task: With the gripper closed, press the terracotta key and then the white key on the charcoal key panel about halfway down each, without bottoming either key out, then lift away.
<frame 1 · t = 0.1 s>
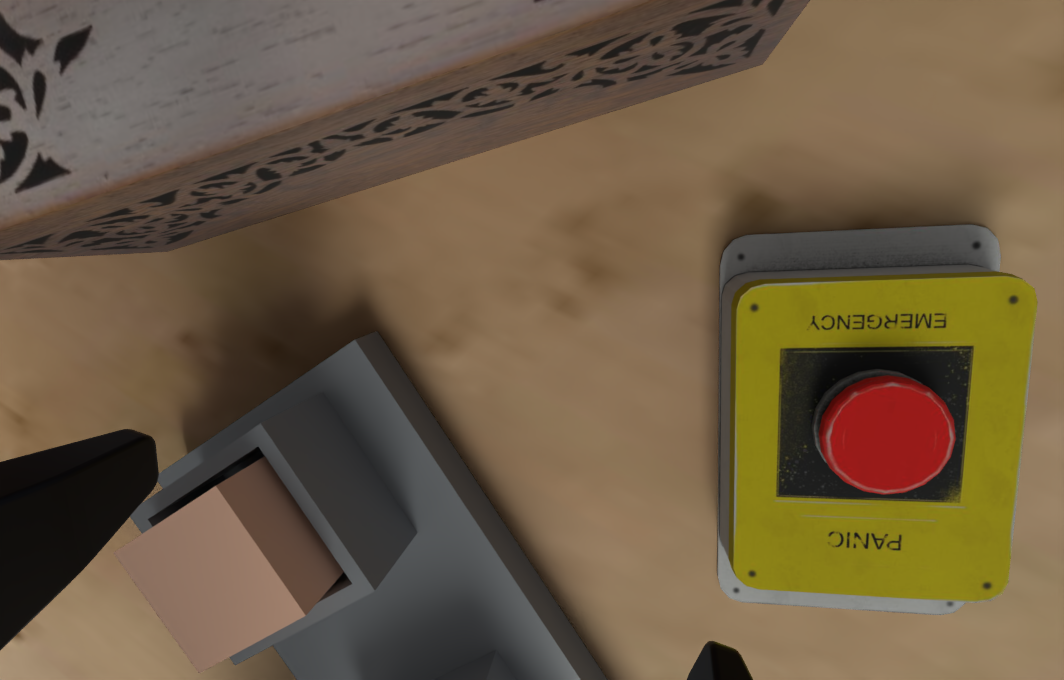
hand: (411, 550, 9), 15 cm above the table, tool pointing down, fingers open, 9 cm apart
emergency button: (839, 423, 23), on the table
key panel: (410, 596, 27), on the table
key terracotta: (237, 558, 20), point 6 cm above the table, slide at 0.0 cm
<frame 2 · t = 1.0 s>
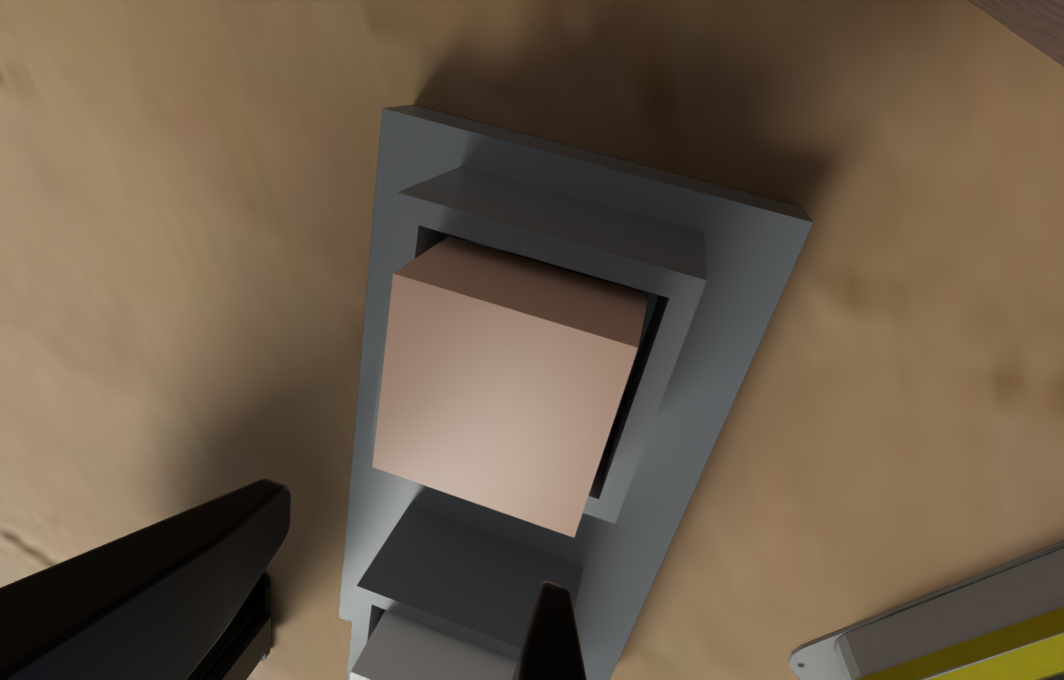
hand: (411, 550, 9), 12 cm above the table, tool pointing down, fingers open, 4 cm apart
emergency button: (1031, 647, 21), on the table
key panel: (524, 443, 22), on the table
key terracotta: (509, 381, 14), point 6 cm above the table, slide at 0.0 cm
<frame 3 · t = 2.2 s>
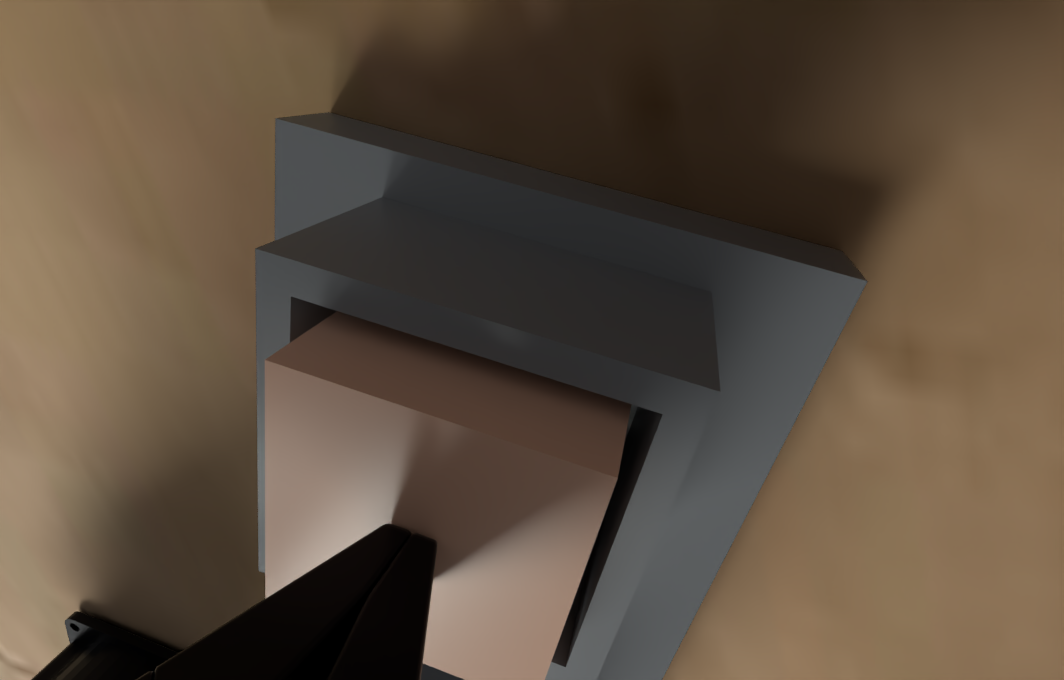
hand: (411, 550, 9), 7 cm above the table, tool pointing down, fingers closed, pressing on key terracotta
key panel: (486, 529, 18), on the table
key terracotta: (449, 487, 10), point 6 cm above the table, slide at 0.8 cm, touching gripper
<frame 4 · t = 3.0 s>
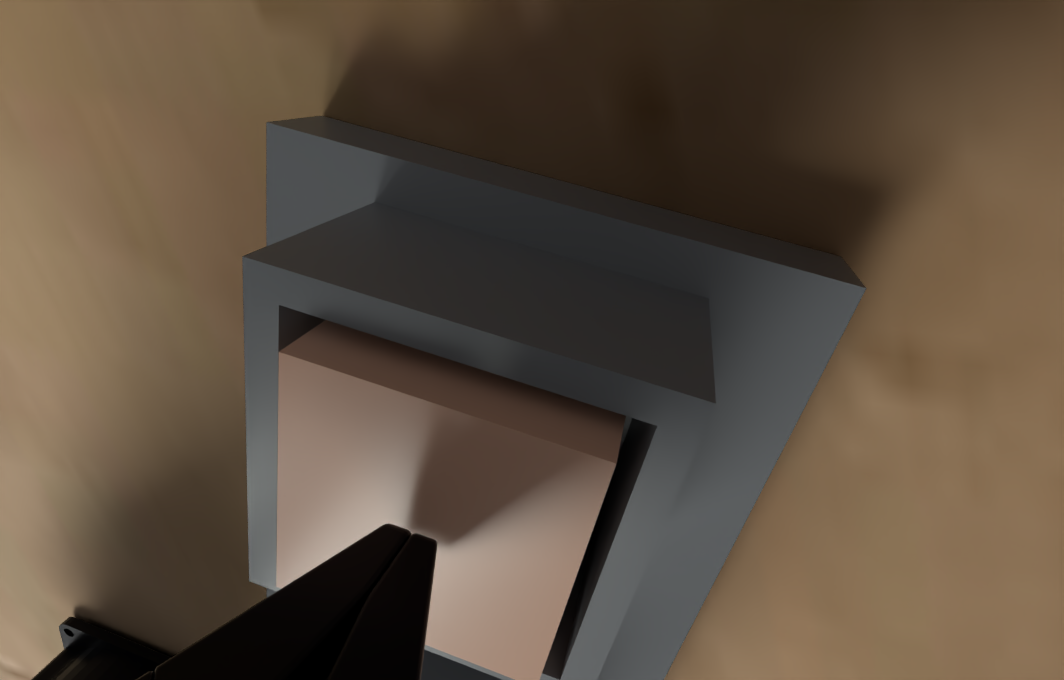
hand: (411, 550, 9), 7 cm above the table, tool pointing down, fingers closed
key panel: (482, 536, 18), on the table
key terracotta: (453, 476, 10), point 5 cm above the table, slide at 1.4 cm
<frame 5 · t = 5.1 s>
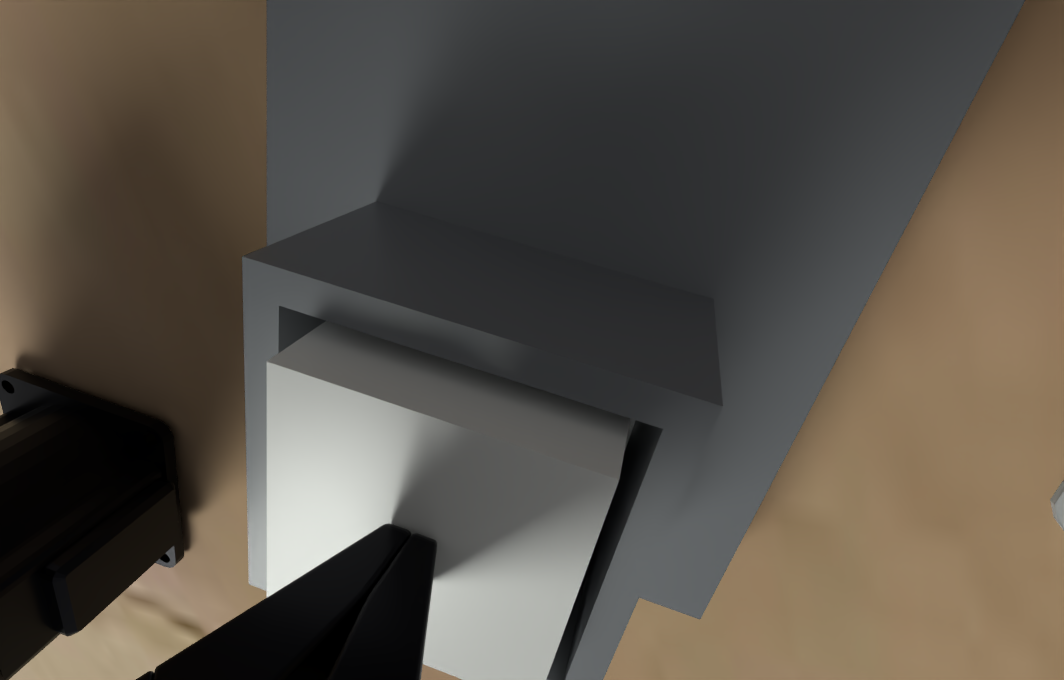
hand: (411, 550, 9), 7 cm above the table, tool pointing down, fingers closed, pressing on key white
key white: (450, 488, 10), point 5 cm above the table, slide at 1.2 cm, touching gripper
key panel: (592, 84, 12), on the table
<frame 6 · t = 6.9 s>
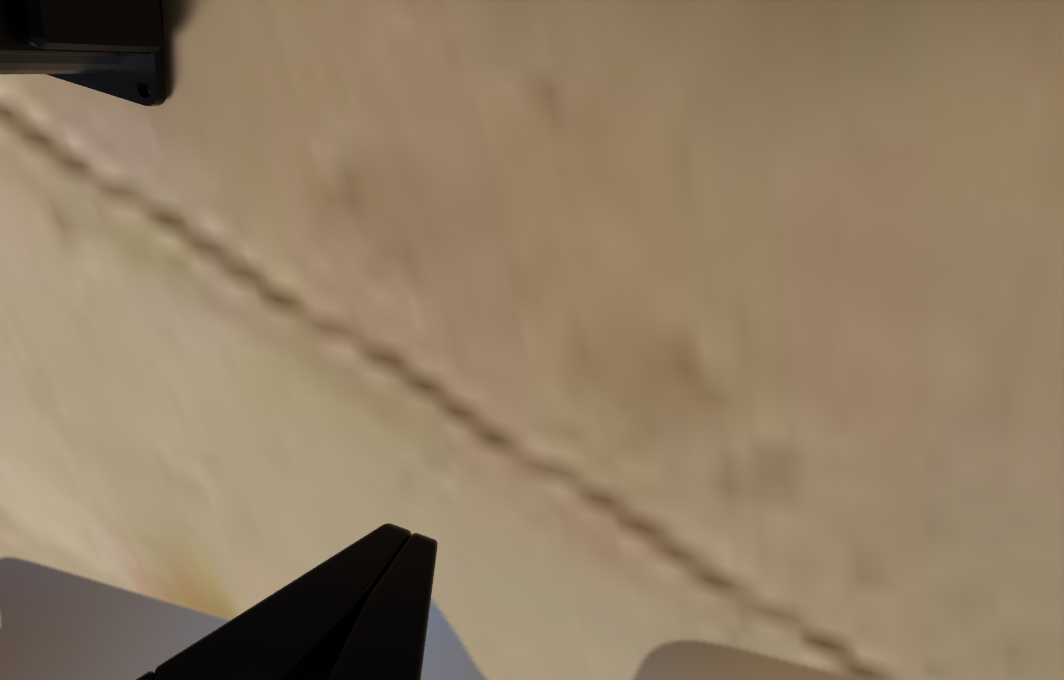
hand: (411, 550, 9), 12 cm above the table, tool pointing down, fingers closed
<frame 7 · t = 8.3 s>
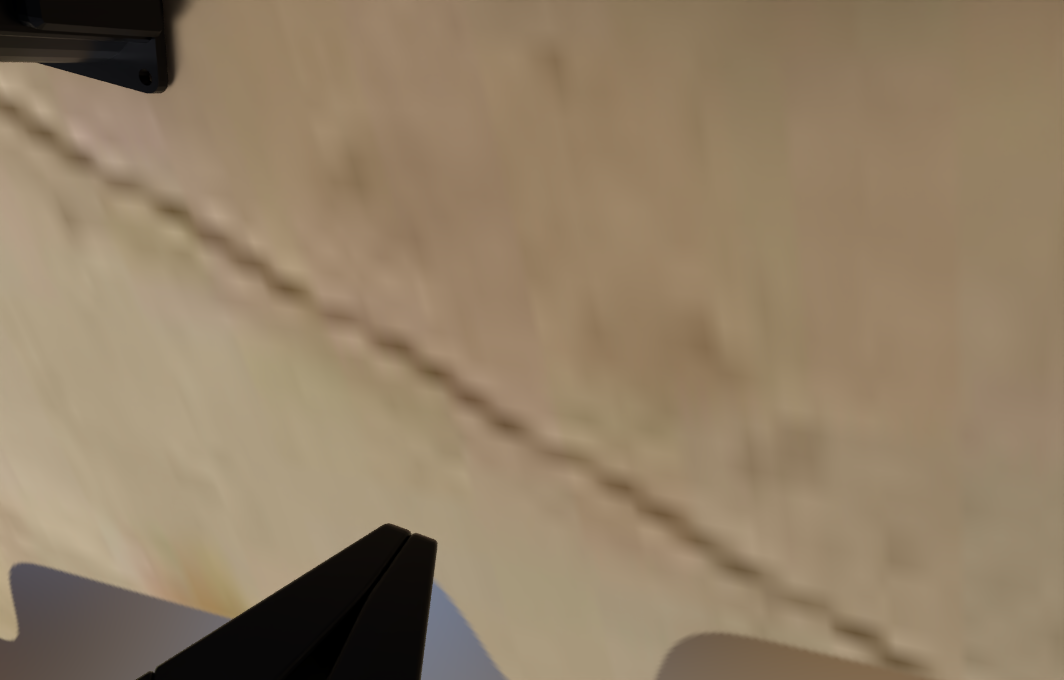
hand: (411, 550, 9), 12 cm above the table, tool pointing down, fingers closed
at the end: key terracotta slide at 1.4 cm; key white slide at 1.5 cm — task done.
